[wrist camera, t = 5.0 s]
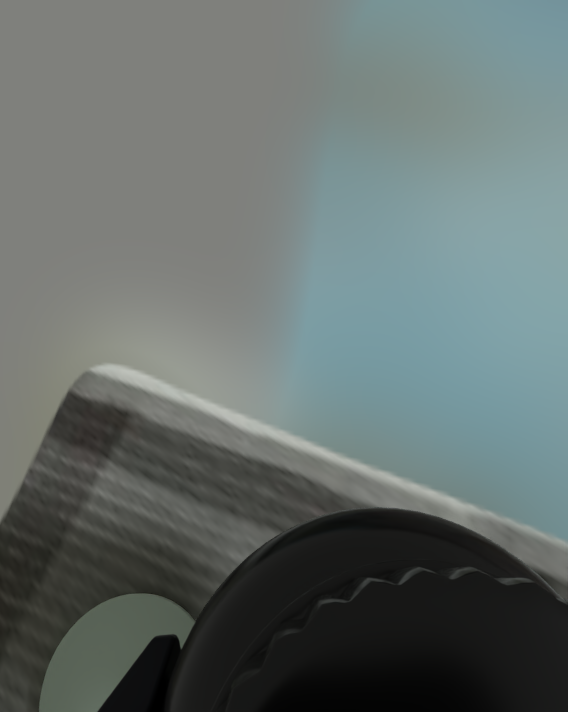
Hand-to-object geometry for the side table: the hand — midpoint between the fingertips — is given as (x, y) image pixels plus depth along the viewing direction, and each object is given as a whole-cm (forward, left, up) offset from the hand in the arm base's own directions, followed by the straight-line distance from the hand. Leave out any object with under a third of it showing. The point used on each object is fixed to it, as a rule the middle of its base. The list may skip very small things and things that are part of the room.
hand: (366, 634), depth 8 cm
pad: (-7, +6, -13) cm, 16 cm away
